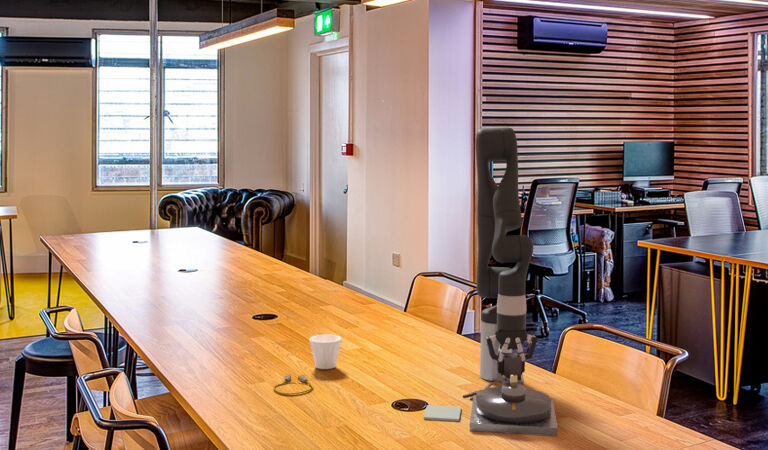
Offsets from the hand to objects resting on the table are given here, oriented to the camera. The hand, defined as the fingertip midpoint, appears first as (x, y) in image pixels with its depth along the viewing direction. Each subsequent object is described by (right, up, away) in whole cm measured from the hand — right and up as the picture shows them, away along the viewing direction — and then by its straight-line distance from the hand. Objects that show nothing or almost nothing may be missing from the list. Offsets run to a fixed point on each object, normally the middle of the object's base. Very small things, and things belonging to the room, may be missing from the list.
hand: (510, 373), depth 207 cm
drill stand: (0, -10, -6) cm, 12 cm away
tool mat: (-18, -10, -4) cm, 21 cm away
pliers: (-2, -8, +14) cm, 17 cm away
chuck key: (0, -4, 0) cm, 4 cm away
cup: (-52, -5, +37) cm, 64 cm away
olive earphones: (-59, -8, +18) cm, 62 cm away
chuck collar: (0, -8, -6) cm, 10 cm away
